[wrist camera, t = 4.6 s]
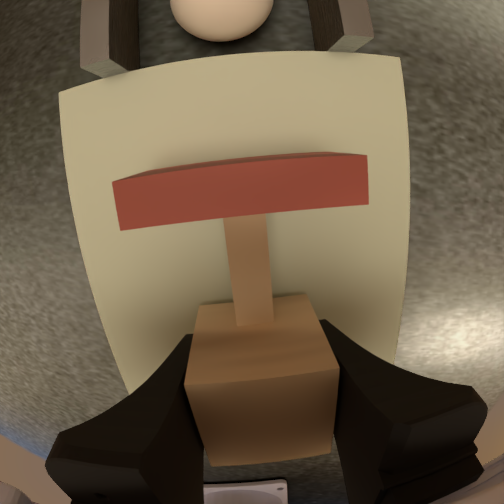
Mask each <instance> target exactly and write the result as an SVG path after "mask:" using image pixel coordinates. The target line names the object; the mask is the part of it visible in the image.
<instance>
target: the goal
mask: <svg viewBox="0 0 504 504" xmlns="http://www.w3.org/2000/svg"><path fill="white" fill-rule="evenodd" d="M307 1H308V6H309V12H310V18H311V25H312V31H313V38H314V45H315V51H329V52H349V53H353V52H355V51H356V50H357V49H359V48H360V47H362V46H363V45H364V44H366V43H367V42H369V41H370V40H372V39H373V38H374V33H373V27H372V22H371V17H370V12H369V8H368V3H367V0H307ZM80 68H82V69H85V70H87V71H89V72H91V73H94V74H96V75H98V76H100V77H102V78H107V77H110V76H114V75H118V74H122V73H126V72H130V71H134V70H139V69H140V59H139V35H138V0H82V6H81V28H80Z"/></svg>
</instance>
